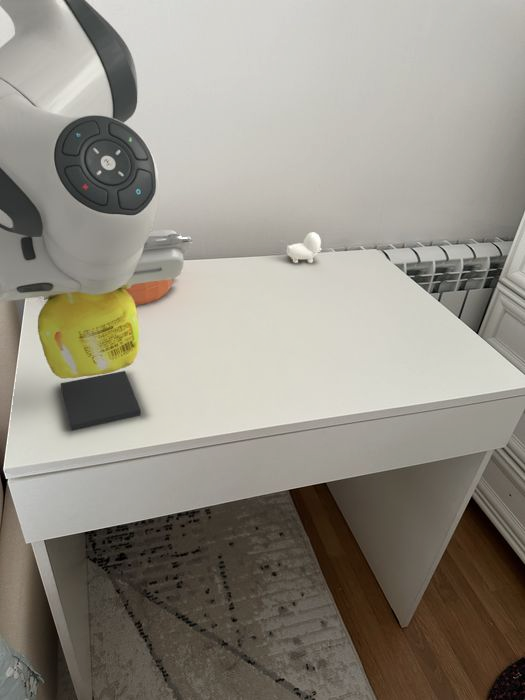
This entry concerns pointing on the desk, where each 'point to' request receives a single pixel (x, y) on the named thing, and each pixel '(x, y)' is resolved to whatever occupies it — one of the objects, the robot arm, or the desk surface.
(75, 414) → the mat
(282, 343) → the desk surface
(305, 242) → the toy creature
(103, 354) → the bottle
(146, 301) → the bowl
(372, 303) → the desk surface
